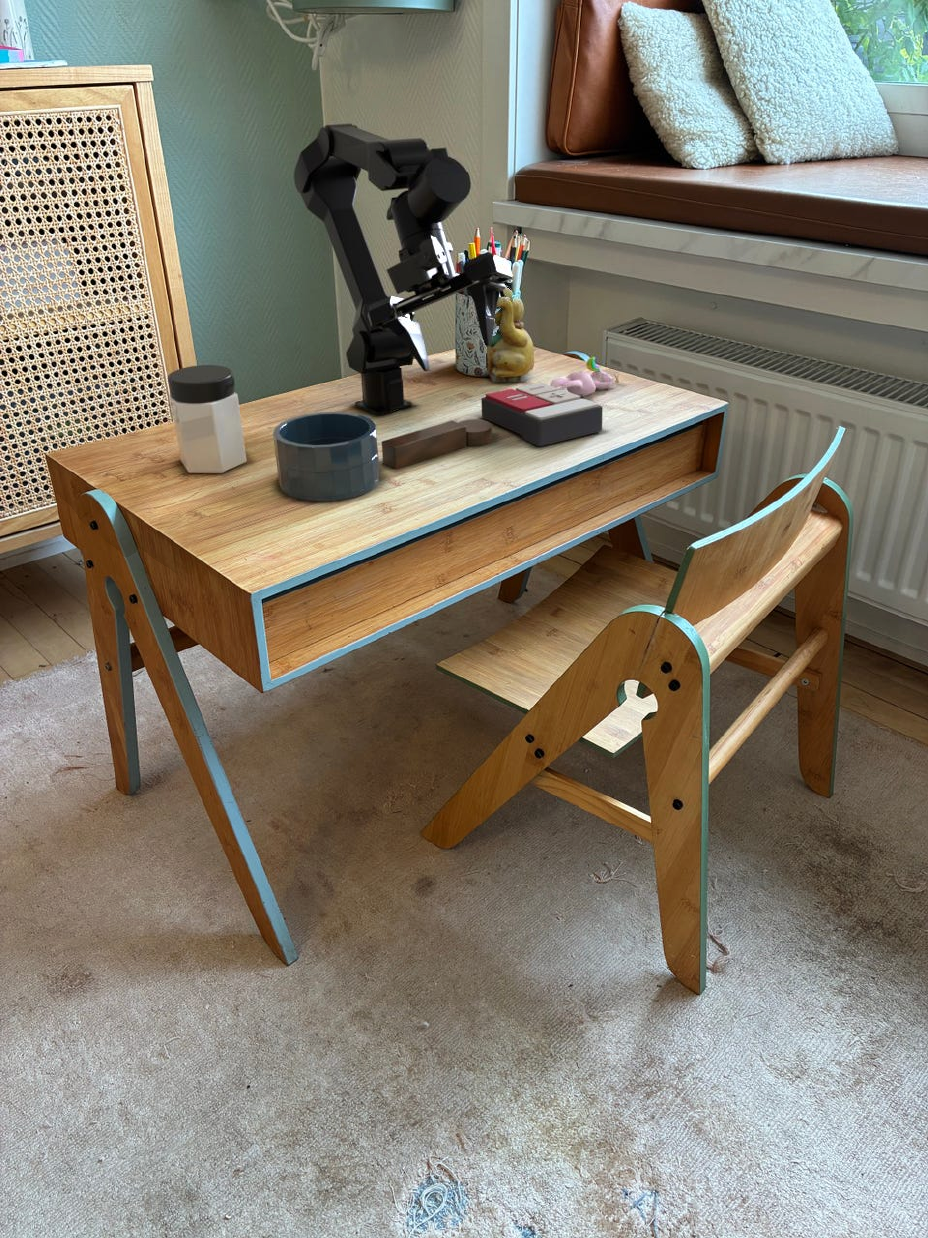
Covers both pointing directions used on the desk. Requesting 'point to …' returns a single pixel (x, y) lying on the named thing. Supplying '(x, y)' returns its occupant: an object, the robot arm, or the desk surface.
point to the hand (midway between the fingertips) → (457, 358)
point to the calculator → (542, 413)
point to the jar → (207, 418)
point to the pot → (327, 456)
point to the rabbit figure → (586, 380)
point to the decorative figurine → (509, 343)
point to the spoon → (435, 441)
